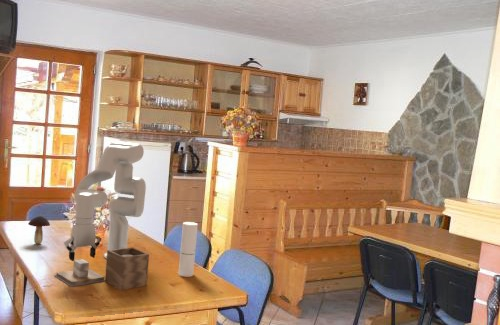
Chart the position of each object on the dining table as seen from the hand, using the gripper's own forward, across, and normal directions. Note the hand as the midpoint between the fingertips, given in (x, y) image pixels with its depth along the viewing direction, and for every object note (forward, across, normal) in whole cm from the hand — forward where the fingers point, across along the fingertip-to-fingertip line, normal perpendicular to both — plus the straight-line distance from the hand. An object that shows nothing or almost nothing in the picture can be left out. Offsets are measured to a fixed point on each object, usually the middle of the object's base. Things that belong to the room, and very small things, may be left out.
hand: (82, 258), depth 227 cm
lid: (+8, +1, +1) cm, 8 cm away
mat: (+9, +1, +1) cm, 9 cm away
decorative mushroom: (+10, -7, -62) cm, 64 cm away
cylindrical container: (+10, -45, +18) cm, 49 cm away
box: (+9, -13, +16) cm, 22 cm away
